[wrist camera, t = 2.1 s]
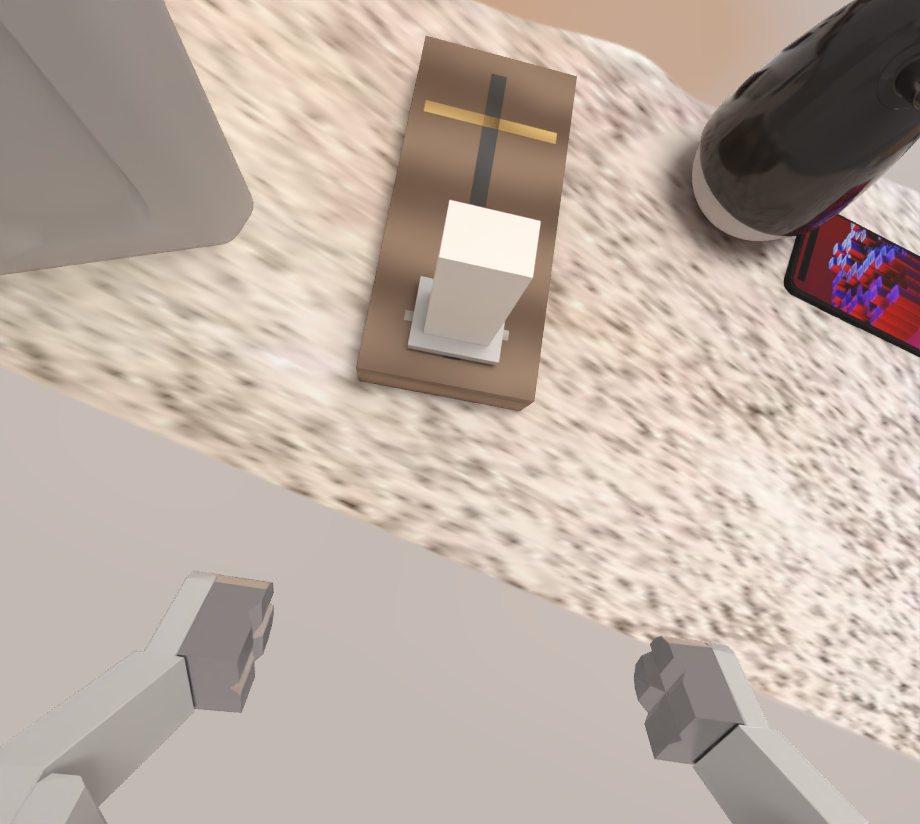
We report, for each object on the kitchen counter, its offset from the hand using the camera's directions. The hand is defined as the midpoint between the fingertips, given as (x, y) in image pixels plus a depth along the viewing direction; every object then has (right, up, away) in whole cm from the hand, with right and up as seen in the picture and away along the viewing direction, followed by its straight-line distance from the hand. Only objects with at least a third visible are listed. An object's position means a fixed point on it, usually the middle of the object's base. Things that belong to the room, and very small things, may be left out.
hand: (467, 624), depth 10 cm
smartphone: (+31, +13, +26) cm, 43 cm away
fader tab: (0, +9, +17) cm, 19 cm away
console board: (0, +16, +22) cm, 27 cm away
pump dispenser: (+20, +20, +25) cm, 38 cm away
